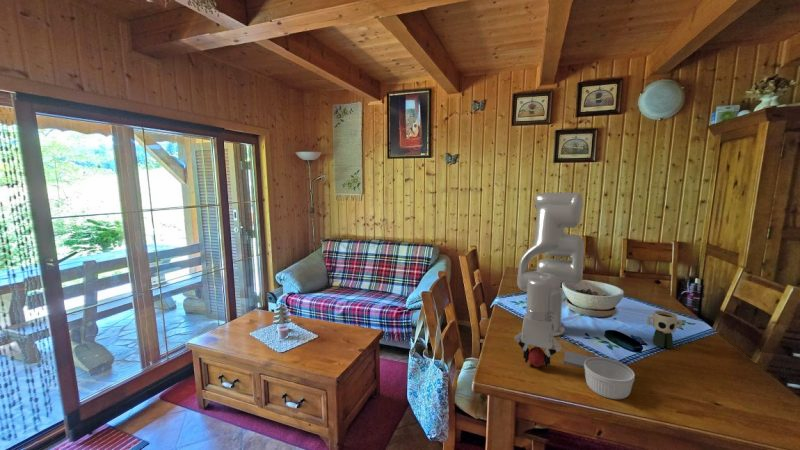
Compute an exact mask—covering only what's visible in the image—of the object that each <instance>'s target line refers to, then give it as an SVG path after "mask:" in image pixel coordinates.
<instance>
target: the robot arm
mask: <svg viewBox="0 0 800 450" xmlns="http://www.w3.org/2000/svg"><path fill="white" fill-rule="evenodd" d="M583 202H584V199H583V197H582V195H581V193H578V192H542V193H538V194H537V195H535V198H534V206H535V209H536V211H537V214H536V220H535V231H534V241H533V244H532V245H531V246H530V247H528V249H527V250H526V251H525V252H524V253H523V254H522V256H521V258H520V259H519V263H518V269H517V277H516V278H517V279H516V284H517V287H518V289H520V290H521V291H523V292H526V313H525V314H524V316H523V320H522V321H523V322H522V327H521V328H522V329H521V332H519V333H518V334H517V335H515V336H514V338H513V339H514V340H515V342H516V343H517V344H518V345H519V346H520V348H521V349H522V352H523V359H524V362H525V363H528V361H529V359H528V353H529V351H530V349H529V346H533V347H535V346H536V347H539V348H541V349H544V352H545V355H546V356H545V363H544V368H548V366H550V365H551V357H552V356H553V355H555V354H556V353H558V352H559V351H561V350H562V349H563V348H562V345H561V344H560V343H559V341H557V339H556V338H555V337H557V336H561V335H564V334H565V330H566V329H565V327H564V326H562V307H563V305H562V304H563V290H562V288H561V285H562V283H563V284H573V285H578V284H580V283H581V282H582V280H583V276H584V274H583V272H584V257H585V255H584V254H585V244H584V239H583V237H582V236H580V235H579V234H578V235H577V234H569V233H566V234H565V228H569V229H570V228H571V229H572V228H573V229H574V228H577V227H578V226H579V224H580V222H581V216H582V213H583V205H584V203H583ZM542 254H544V255H546V256H552V257H563V258H569V259H568V260H567V259H560V258H559V259H558V258H541V259H540V260H539V261H538V262H537V264H536V271H531V270H527V269H528V265H529V263H530V261H531V260H532V259H534V258H536V257H537V256H538V255H539V256H540V255H542ZM553 346H554V347H553Z"/></svg>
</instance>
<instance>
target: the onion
mask: <svg viewBox="0 0 800 450" xmlns="http://www.w3.org/2000/svg"><path fill="white" fill-rule="evenodd" d="M545 356H546V352H545V350H543V348H541V347H536V346H533V347H532V348H530V349H529V353H528V361H529V362H530V363H531V365H532V366H534V367H536V368H537V367H542V366H543V365H545Z"/></svg>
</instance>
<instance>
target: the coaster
mask: <svg viewBox="0 0 800 450" xmlns="http://www.w3.org/2000/svg"><path fill="white" fill-rule="evenodd" d="M588 358H591V356H589V355H585V354H582V353H581V354H580V353H575V352H572V351H567V350H566V351H565V352H564V358H563V364H566V365H569V366H573V367H578V368H582V369H585V368H584V362H585V360H586V359H588Z"/></svg>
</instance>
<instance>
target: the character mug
mask: <svg viewBox="0 0 800 450" xmlns="http://www.w3.org/2000/svg"><path fill="white" fill-rule="evenodd" d="M651 320H652V322H651ZM646 323H647V325H648V326H649V325H651V326H652V327H653V328H654V334H653V336H652V343H653V344H654V345H656V346H657V347H661V348H663V349H664V348H665V347H666V349H672V348H674V339H673V333H675V332H676V331H677V329H682V328H683V320H682V319H678V315H677V314H676V313H673V312H670V311H667V310H660V309H658V310H653V316H647V321H646Z"/></svg>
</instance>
